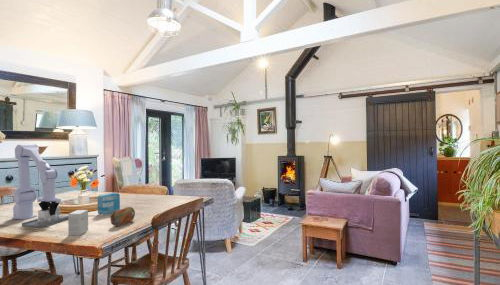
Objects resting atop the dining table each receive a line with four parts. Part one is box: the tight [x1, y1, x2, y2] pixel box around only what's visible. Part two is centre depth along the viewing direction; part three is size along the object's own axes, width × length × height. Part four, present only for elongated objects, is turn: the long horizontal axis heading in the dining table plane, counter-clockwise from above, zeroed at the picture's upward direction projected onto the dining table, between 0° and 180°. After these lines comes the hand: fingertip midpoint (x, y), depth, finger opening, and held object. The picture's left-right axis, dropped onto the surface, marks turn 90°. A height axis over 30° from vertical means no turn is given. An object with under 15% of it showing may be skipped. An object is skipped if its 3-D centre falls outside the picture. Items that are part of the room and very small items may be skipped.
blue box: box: [97, 192, 121, 216], centre depth 173 cm, size 12×4×12 cm, turn 146°
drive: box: [37, 206, 61, 220], centre depth 154 cm, size 4×9×5 cm, turn 166°
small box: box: [67, 209, 89, 237], centre depth 135 cm, size 8×6×10 cm
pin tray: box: [21, 214, 68, 229], centre depth 154 cm, size 13×20×3 cm, turn 166°
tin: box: [110, 206, 136, 227], centre depth 149 cm, size 15×3×8 cm, turn 160°
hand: (49, 214), depth 154 cm, fingers closed on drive, 4 cm apart
